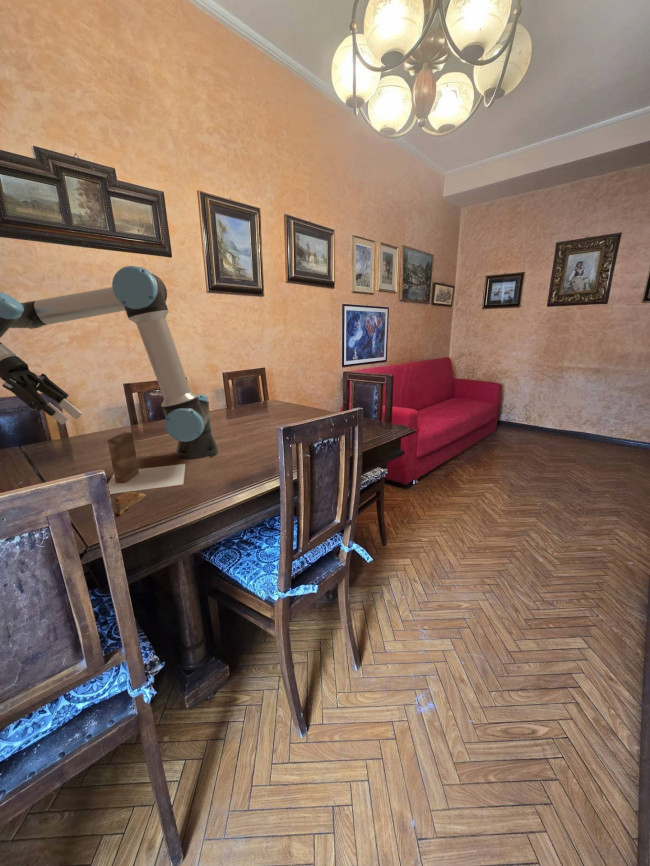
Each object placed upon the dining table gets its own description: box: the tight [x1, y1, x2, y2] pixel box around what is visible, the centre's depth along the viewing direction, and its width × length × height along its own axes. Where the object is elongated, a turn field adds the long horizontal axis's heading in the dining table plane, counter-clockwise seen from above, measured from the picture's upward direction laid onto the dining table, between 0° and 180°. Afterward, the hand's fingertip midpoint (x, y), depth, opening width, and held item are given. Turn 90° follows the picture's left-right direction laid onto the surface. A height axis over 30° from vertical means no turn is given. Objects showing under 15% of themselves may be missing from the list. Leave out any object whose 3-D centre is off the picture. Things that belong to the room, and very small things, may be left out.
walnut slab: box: [107, 431, 139, 483], centre depth 109 cm, size 3×8×14 cm, turn 179°
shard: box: [113, 491, 147, 516], centre depth 96 cm, size 11×8×2 cm
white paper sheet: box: [107, 463, 186, 495], centre depth 112 cm, size 22×18×1 cm
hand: (72, 418), depth 106 cm, fingers open, 5 cm apart
